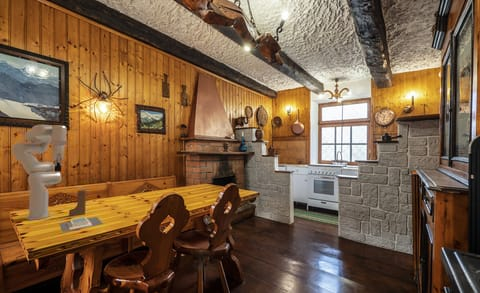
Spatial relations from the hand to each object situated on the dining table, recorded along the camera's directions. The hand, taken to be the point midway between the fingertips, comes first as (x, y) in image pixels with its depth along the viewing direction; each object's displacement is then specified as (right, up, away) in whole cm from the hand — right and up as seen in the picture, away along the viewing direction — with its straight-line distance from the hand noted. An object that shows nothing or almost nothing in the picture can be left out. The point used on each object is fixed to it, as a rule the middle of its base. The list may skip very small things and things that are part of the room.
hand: (57, 171), depth 140 cm
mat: (+20, -33, -6) cm, 39 cm away
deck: (+15, -32, -2) cm, 35 cm away
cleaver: (+3, -34, +12) cm, 36 cm away
